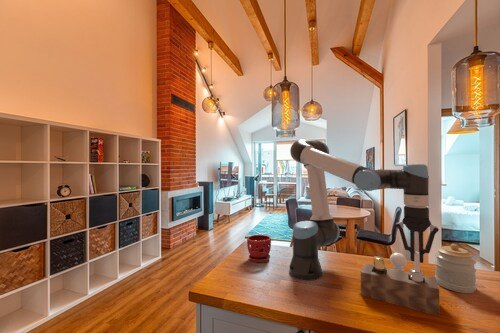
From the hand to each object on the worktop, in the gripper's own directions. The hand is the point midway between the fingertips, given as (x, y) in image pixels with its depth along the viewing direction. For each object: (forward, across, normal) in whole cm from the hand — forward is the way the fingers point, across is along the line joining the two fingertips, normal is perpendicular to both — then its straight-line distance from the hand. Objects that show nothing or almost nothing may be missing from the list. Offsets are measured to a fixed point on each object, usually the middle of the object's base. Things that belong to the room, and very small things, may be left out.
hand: (416, 270), depth 85 cm
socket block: (+12, -6, 0) cm, 14 cm away
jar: (+12, +14, +24) cm, 30 cm away
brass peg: (+6, -12, 0) cm, 14 cm away
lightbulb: (+12, -6, +20) cm, 24 cm away
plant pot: (+12, -70, +4) cm, 71 cm away
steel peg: (+8, 0, 0) cm, 8 cm away
